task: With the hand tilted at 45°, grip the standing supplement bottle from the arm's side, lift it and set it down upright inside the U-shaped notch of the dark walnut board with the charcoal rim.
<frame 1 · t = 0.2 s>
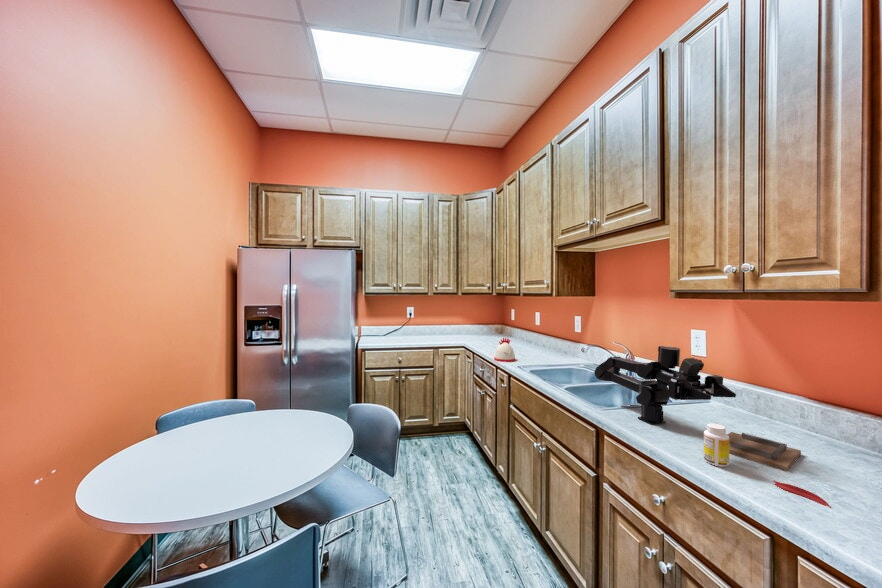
hand: (723, 396, 101), 17 cm above the worktop, tool horizontal, fingers open, 9 cm apart
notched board: (755, 451, 103), on the worktop
supplement bottle: (716, 463, 96), on the worktop
kitchen timer: (504, 360, 234), on the worktop
cayenne pepper: (798, 496, 82), on the worktop
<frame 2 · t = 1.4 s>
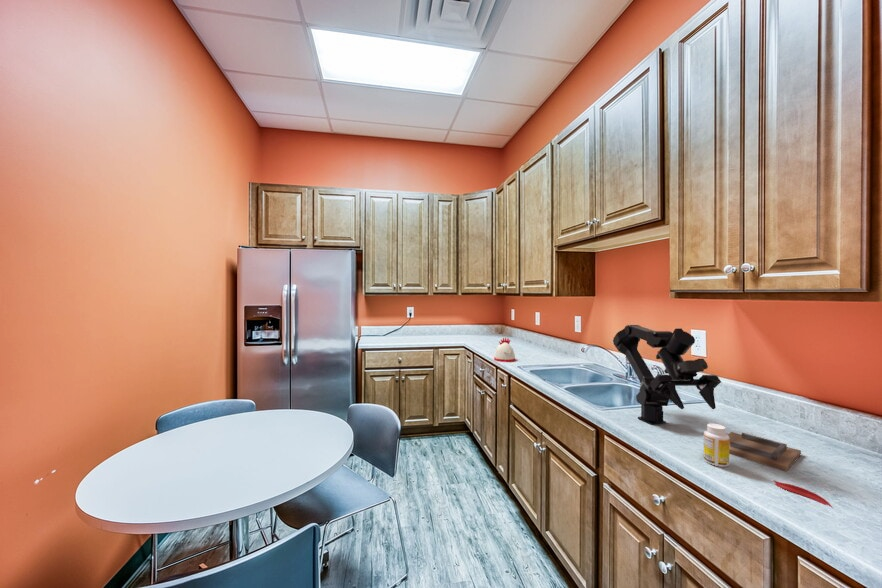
hand: (698, 408, 103), 13 cm above the worktop, tool tilted 45°, fingers open, 9 cm apart
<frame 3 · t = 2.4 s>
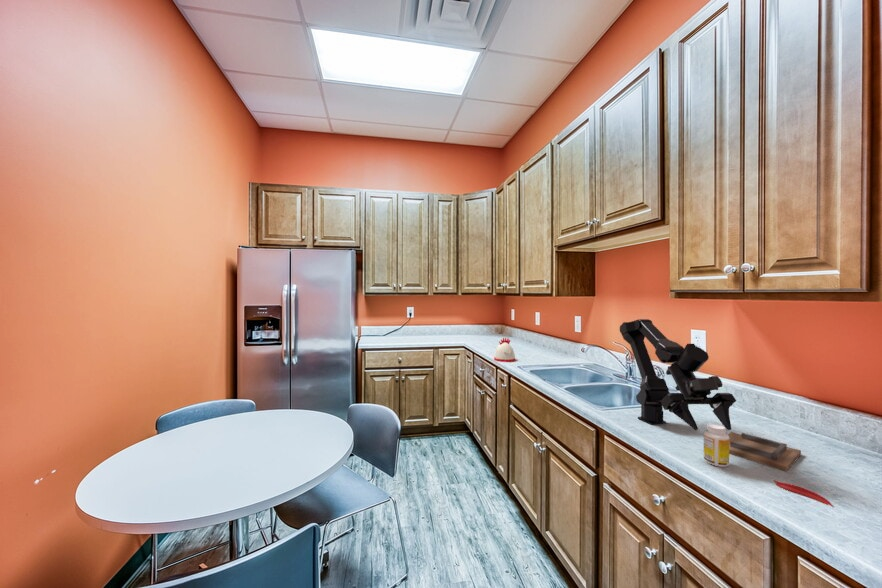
hand: (713, 429, 97), 9 cm above the worktop, tool tilted 45°, fingers open, 9 cm apart
nothing on the worktop moved.
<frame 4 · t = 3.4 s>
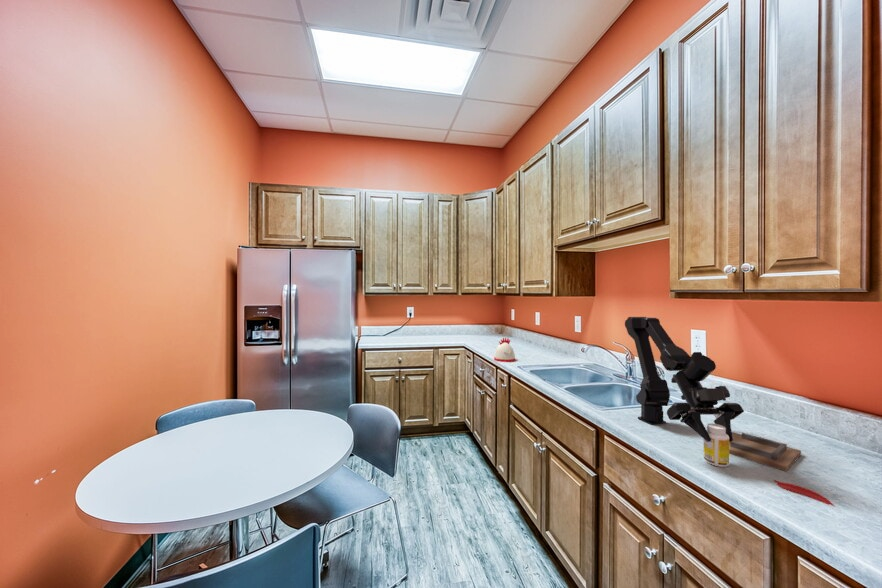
hand: (720, 441, 95), 7 cm above the worktop, tool tilted 45°, fingers closed on supplement bottle, 6 cm apart
supplement bottle: (716, 463, 96), on the worktop, touching gripper
everything else where it was.
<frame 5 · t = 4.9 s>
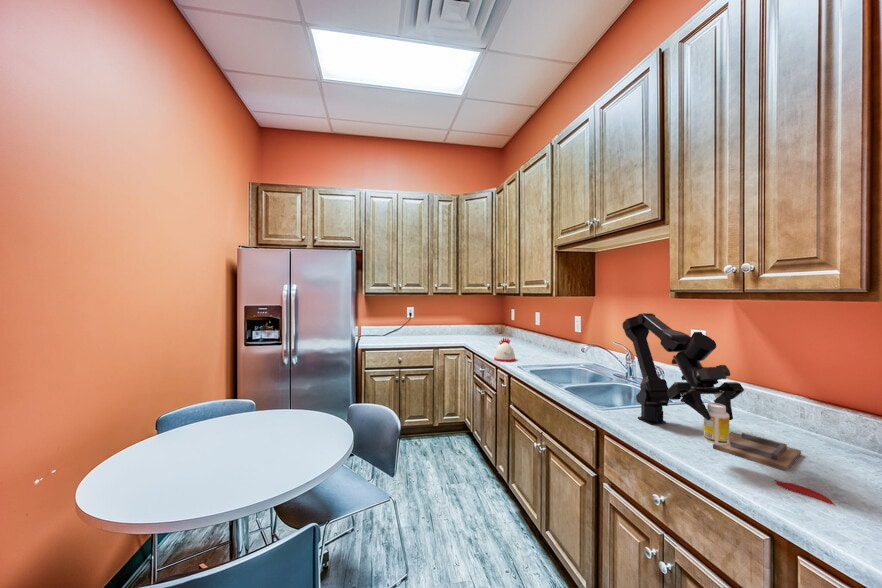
hand: (720, 419, 94), 12 cm above the worktop, tool tilted 45°, fingers closed on supplement bottle, 6 cm apart
supplement bottle: (716, 442, 96), point 6 cm above the worktop, touching gripper
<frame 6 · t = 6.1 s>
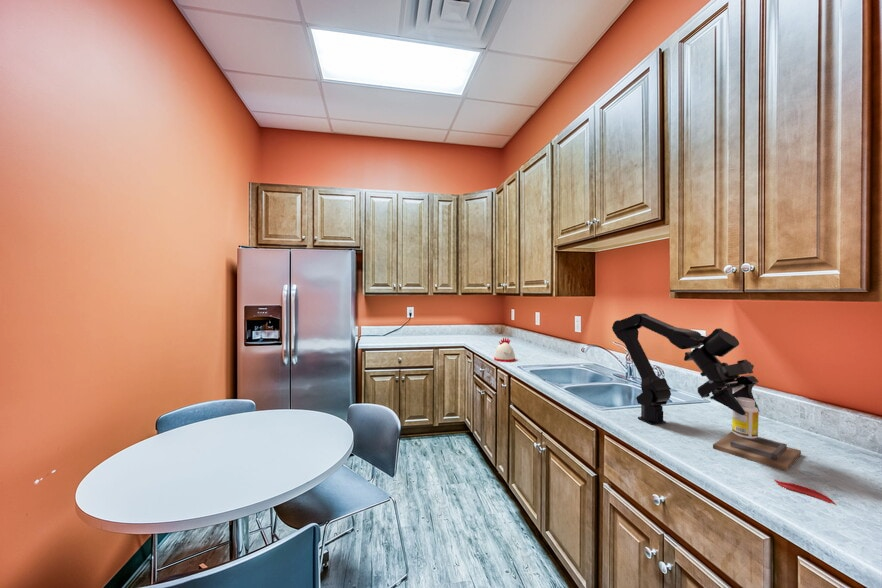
hand: (751, 413, 97), 13 cm above the worktop, tool tilted 45°, fingers closed on supplement bottle, 6 cm apart
supplement bottle: (744, 435, 98), point 6 cm above the worktop, touching gripper
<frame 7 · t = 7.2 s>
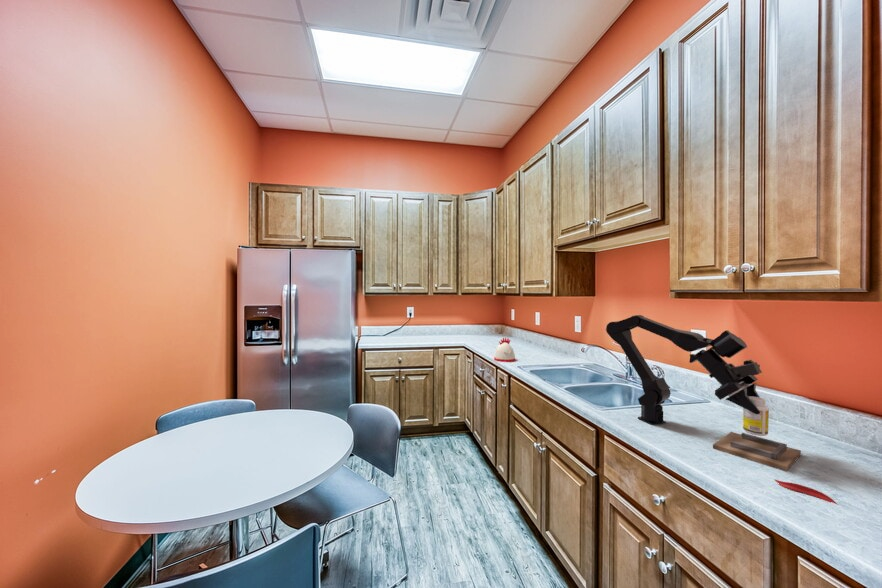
hand: (761, 411, 101), 12 cm above the worktop, tool tilted 45°, fingers closed on supplement bottle, 6 cm apart
supplement bottle: (755, 433, 103), point 5 cm above the worktop, touching gripper
when the fingers open (10 cm above the worktop, at t = 8.0 s): supplement bottle drops 2 cm, resting on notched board.
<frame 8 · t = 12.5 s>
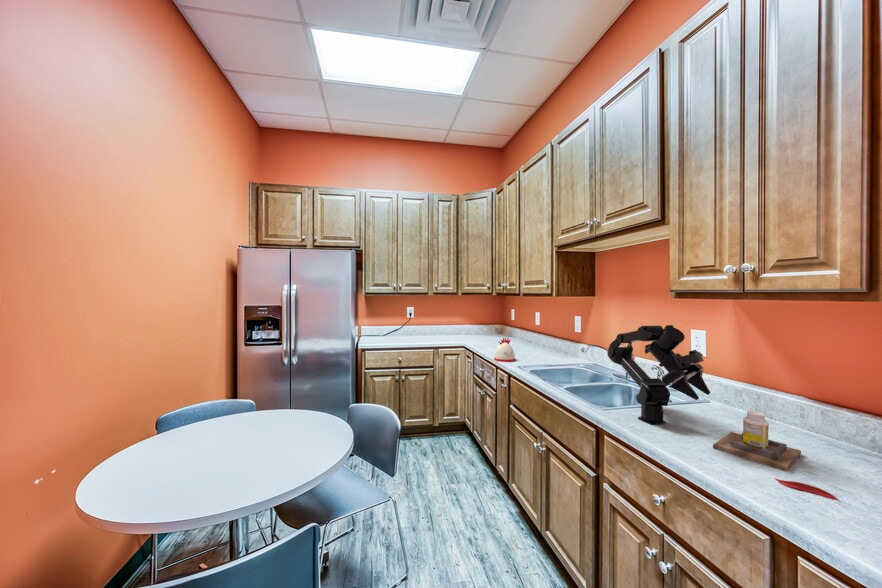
hand: (703, 396, 111), 14 cm above the worktop, tool tilted 45°, fingers open, 9 cm apart
supplement bottle: (755, 447, 103), point 1 cm above the worktop, touching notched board
cayenne pepper: (804, 492, 83), on the worktop
everything else where it was.
at the end: supplement bottle 0.2 cm off-centre on the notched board, point 1.0 cm above the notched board's base; supplement bottle tilted 1°; the gripper is holding nothing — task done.
